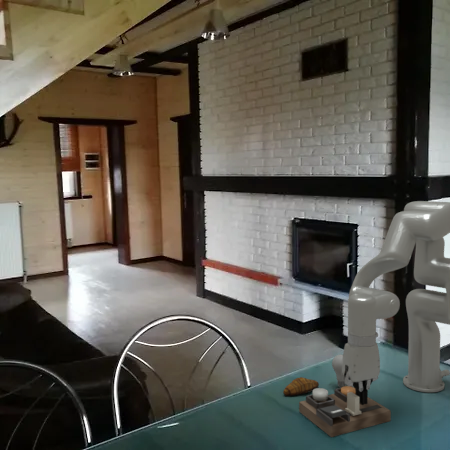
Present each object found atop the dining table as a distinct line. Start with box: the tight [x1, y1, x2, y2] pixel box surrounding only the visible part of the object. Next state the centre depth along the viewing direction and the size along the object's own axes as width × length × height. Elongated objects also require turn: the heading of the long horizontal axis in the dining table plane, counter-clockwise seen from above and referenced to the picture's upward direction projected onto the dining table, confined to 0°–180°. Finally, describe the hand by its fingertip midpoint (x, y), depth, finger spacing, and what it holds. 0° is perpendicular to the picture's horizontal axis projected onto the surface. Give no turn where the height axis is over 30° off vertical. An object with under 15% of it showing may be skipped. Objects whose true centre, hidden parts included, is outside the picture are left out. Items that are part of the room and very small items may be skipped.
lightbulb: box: [331, 353, 347, 388], centre depth 163 cm, size 6×6×11 cm
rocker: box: [320, 405, 346, 418], centre depth 138 cm, size 4×6×1 cm
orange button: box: [341, 385, 355, 396], centre depth 150 cm, size 4×4×2 cm
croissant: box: [283, 376, 320, 397], centre depth 161 cm, size 14×7×5 cm, turn 119°
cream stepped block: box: [345, 392, 361, 416], centre depth 140 cm, size 3×4×5 cm
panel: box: [298, 386, 392, 438], centre depth 145 cm, size 20×16×5 cm
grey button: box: [312, 387, 329, 401], centre depth 146 cm, size 4×4×2 cm
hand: (361, 402), depth 141 cm, fingers closed
